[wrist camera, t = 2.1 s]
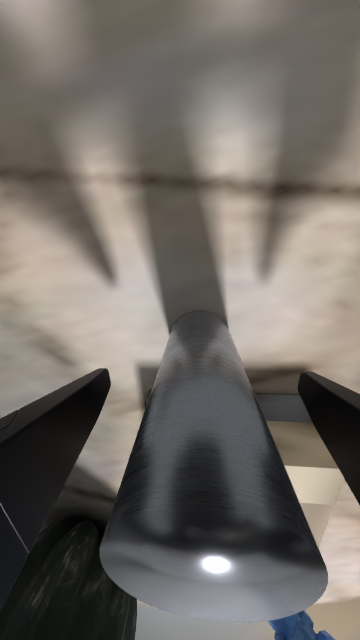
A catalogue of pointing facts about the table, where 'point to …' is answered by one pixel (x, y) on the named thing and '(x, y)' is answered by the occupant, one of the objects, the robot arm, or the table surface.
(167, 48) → the table surface
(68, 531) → the squash
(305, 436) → the socket
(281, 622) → the grapes
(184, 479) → the peg
